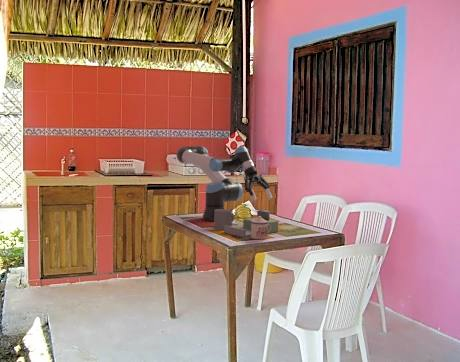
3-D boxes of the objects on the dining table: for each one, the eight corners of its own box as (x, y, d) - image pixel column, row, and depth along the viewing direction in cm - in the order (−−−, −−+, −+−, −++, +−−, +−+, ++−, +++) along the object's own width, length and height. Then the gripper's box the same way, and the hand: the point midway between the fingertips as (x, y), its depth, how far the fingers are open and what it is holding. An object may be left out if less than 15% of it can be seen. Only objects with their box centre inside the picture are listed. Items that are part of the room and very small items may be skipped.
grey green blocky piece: (223, 232, 307) (224, 212, 306) (257, 227, 325) (258, 208, 324) (244, 237, 295) (244, 217, 294) (277, 231, 314) (278, 212, 313)
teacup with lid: (256, 240, 289) (257, 218, 288) (247, 237, 297) (247, 215, 295) (275, 238, 295) (276, 216, 294) (265, 235, 303) (266, 214, 302)
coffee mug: (219, 229, 315) (219, 212, 314) (210, 226, 323) (211, 209, 322) (239, 227, 322) (239, 210, 321) (230, 225, 330) (231, 208, 329)
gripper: (238, 166, 330) (252, 197, 323) (266, 165, 347) (280, 194, 340) (231, 173, 335) (244, 203, 328) (259, 171, 352) (273, 200, 345)
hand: (263, 199), depth 334 cm, fingers open, 13 cm apart
